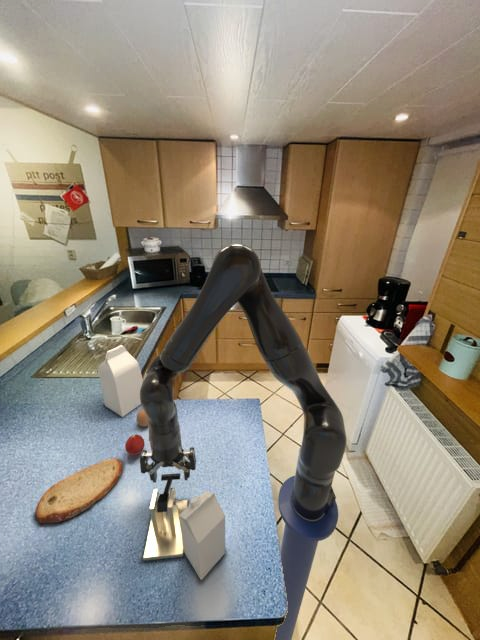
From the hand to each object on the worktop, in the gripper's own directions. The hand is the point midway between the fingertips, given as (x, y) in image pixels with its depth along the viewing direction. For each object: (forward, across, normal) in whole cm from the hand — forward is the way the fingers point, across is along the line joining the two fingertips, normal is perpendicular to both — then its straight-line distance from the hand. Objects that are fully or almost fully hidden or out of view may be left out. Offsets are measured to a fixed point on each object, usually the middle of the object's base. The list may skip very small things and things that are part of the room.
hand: (170, 478), depth 70 cm
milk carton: (+6, -10, +15) cm, 19 cm away
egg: (+6, +14, -26) cm, 30 cm away
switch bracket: (+6, 0, +9) cm, 11 cm away
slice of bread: (+6, +26, -3) cm, 27 cm away
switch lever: (-2, 0, +6) cm, 6 cm away
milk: (+6, +25, -38) cm, 46 cm away
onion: (+6, +14, -14) cm, 20 cm away
